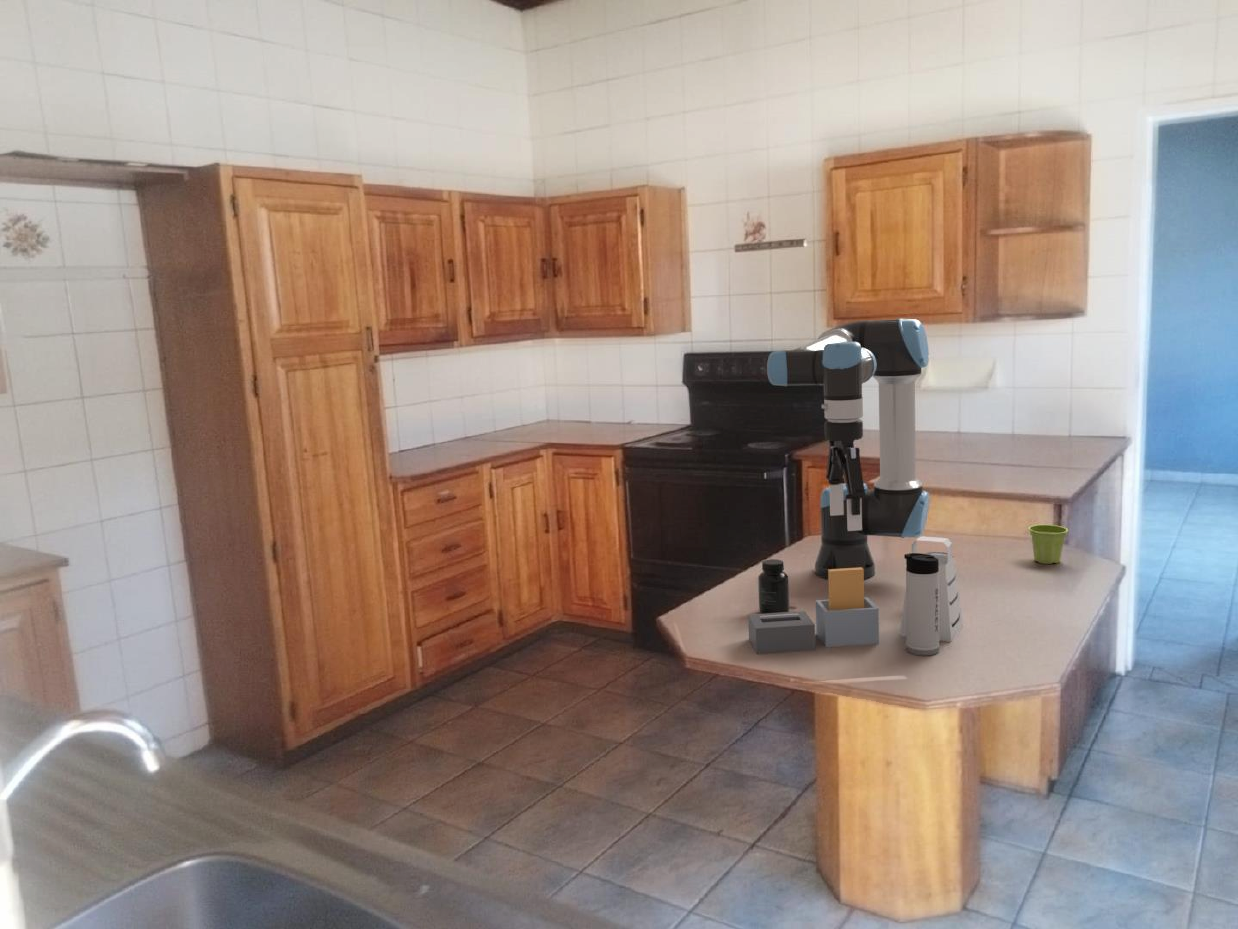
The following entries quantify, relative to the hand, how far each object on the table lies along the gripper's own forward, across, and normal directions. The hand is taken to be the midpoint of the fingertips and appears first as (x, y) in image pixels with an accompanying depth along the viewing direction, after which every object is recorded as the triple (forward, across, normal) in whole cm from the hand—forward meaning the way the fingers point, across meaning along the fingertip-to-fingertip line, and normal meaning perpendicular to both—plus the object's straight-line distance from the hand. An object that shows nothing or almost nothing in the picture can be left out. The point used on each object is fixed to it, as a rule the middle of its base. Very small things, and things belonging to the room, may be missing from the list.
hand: (845, 522), depth 200 cm
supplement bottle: (+26, -21, -11) cm, 35 cm away
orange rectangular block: (+25, 0, 0) cm, 25 cm away
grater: (+26, -2, +19) cm, 32 cm away
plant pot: (+27, -48, +66) cm, 86 cm away
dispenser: (+25, +2, -14) cm, 29 cm away
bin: (+25, +1, 0) cm, 25 cm away
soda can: (+26, -18, +26) cm, 41 cm away
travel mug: (+26, +9, +13) cm, 30 cm away
